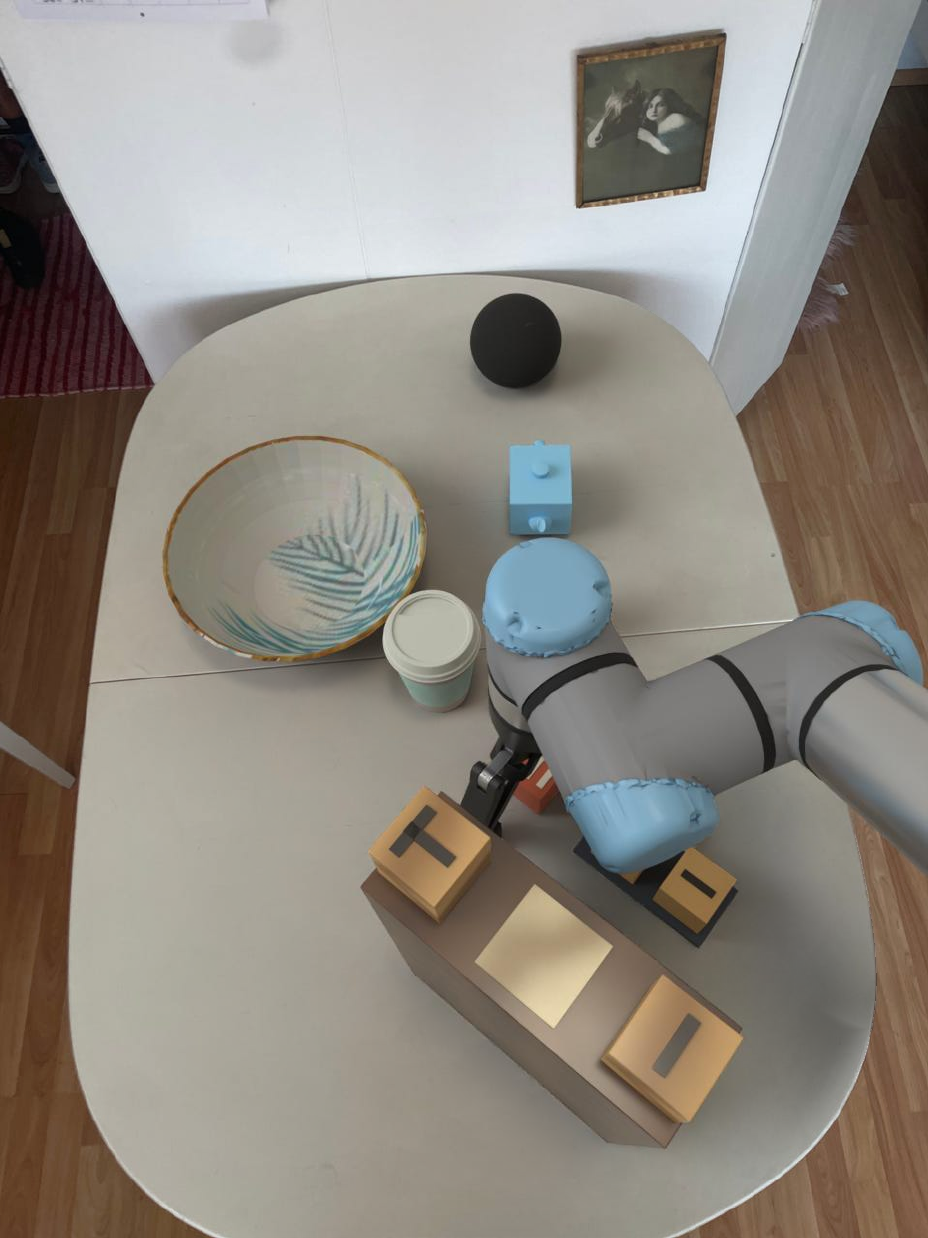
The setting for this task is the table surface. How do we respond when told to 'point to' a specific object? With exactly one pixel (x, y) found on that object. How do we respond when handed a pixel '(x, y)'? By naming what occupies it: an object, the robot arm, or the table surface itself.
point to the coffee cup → (433, 647)
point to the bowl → (294, 548)
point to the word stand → (546, 975)
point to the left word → (676, 890)
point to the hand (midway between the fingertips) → (533, 780)
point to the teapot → (540, 489)
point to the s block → (537, 787)
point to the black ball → (515, 340)
